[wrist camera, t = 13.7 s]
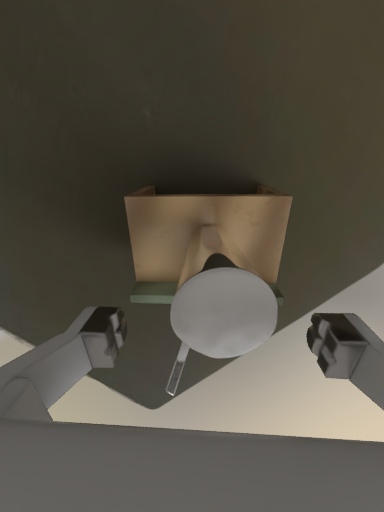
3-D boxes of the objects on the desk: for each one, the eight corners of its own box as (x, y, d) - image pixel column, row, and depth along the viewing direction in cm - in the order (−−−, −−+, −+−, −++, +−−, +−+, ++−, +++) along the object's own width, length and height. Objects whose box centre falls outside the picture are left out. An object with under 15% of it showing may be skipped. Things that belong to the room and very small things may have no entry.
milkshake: (161, 250, 16) (122, 365, 7) (212, 202, 15) (243, 275, 6) (200, 284, 18) (208, 417, 9) (250, 245, 16) (324, 357, 7)
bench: (265, 184, 21) (306, 201, 12) (255, 256, 24) (282, 306, 16) (147, 185, 21) (113, 201, 13) (154, 255, 25) (130, 303, 16)
